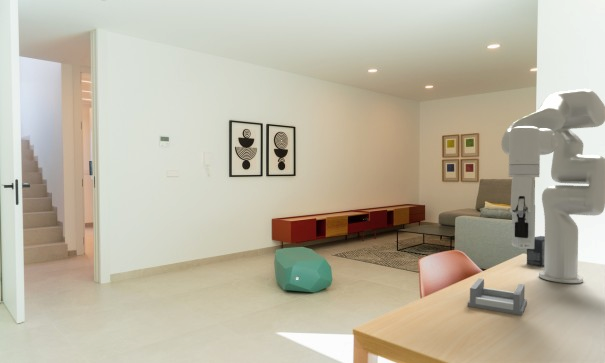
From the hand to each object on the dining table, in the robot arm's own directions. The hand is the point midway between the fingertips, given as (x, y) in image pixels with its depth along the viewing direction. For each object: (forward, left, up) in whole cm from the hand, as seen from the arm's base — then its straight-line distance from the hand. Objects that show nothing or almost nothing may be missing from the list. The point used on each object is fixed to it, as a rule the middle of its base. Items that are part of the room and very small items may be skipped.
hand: (522, 235), depth 113 cm
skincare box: (0, 0, -3) cm, 3 cm away
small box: (-58, +1, -19) cm, 61 cm away
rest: (+6, -5, -19) cm, 20 cm away
